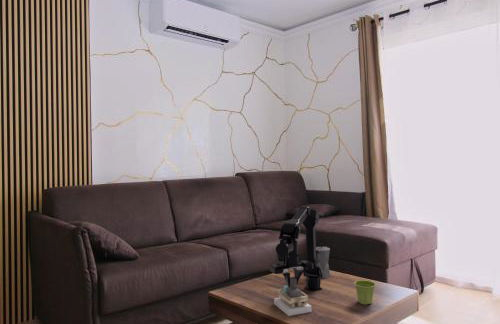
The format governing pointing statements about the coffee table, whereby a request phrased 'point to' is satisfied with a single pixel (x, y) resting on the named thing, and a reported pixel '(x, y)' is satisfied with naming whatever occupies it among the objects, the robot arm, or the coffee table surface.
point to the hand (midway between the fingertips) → (292, 286)
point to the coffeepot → (323, 259)
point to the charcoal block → (295, 293)
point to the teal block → (285, 289)
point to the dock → (292, 310)
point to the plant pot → (365, 291)
